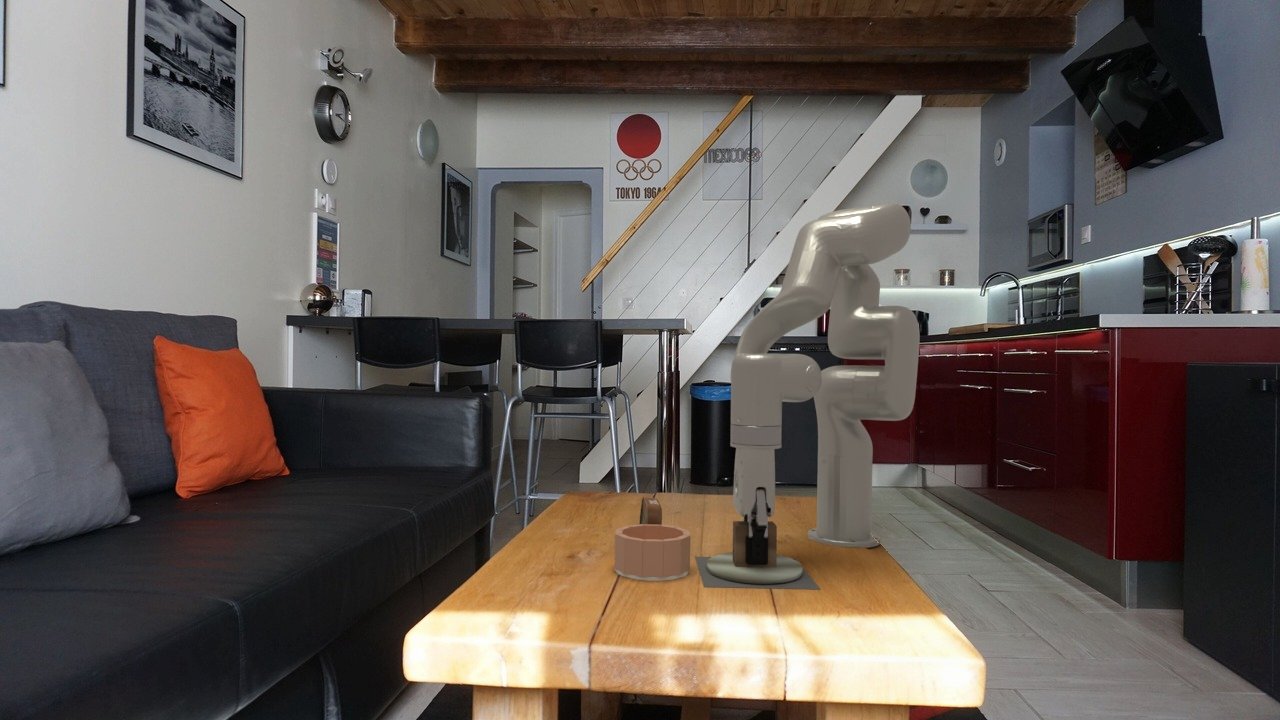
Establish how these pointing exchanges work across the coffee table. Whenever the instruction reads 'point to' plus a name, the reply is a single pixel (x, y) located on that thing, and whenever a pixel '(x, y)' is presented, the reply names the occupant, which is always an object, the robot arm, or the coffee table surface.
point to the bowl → (652, 552)
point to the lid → (739, 571)
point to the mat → (717, 582)
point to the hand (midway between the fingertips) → (754, 559)
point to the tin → (650, 511)
